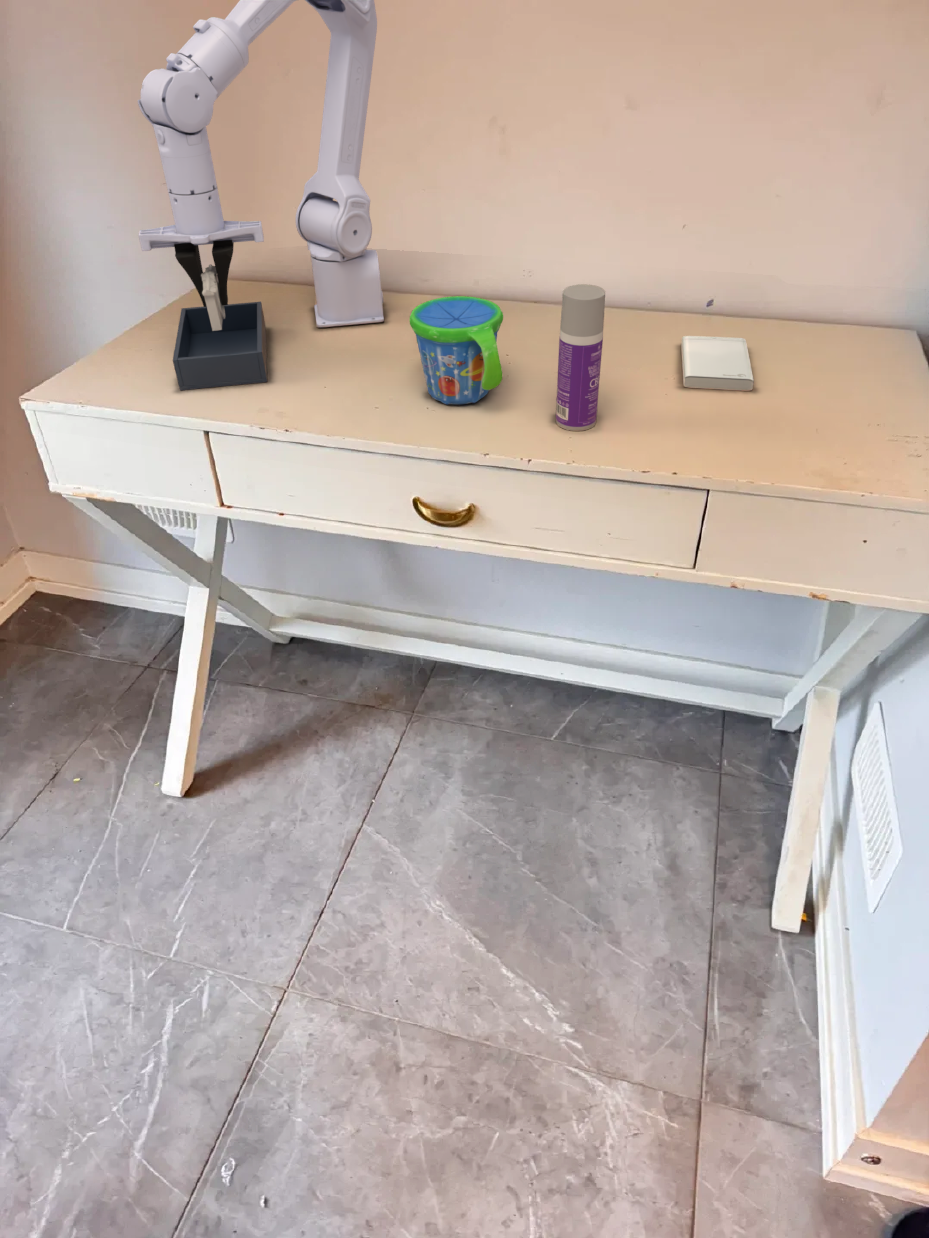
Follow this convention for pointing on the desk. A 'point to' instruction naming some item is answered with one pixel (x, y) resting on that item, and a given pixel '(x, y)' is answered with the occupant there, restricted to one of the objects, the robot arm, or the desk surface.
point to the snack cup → (458, 347)
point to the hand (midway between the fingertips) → (215, 303)
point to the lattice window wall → (213, 297)
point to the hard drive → (716, 363)
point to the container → (579, 356)
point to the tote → (221, 347)
